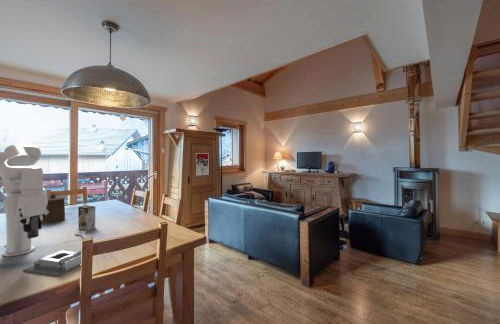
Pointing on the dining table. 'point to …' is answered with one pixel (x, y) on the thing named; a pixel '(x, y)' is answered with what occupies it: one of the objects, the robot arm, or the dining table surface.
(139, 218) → the dining table surface
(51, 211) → the wooden container
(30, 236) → the dark grey block
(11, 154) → the robot arm
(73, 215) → the dining table surface
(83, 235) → the adjustable wrench
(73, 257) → the white grey box
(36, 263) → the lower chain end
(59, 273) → the charcoal mat
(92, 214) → the coffee box
